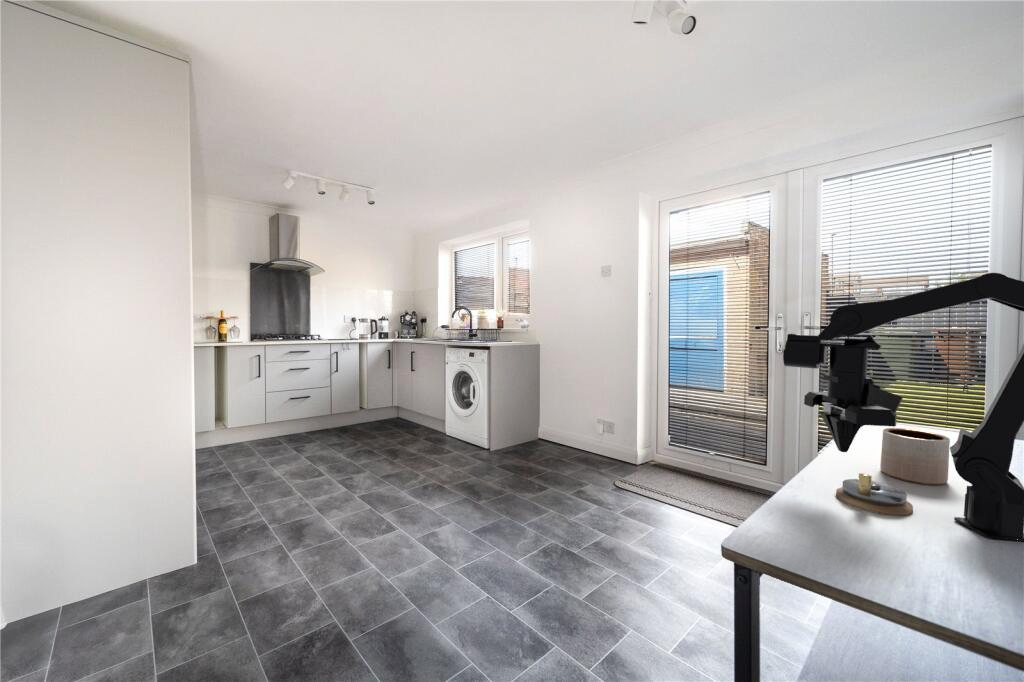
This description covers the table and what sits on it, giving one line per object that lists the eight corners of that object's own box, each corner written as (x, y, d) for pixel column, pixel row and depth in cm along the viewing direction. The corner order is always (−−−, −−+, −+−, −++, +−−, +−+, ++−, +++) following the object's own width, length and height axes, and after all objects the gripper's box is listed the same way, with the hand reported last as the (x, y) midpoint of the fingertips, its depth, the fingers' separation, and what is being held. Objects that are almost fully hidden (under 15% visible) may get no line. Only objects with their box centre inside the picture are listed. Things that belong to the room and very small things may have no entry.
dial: (880, 487, 85) (882, 462, 85) (920, 507, 76) (922, 479, 75) (830, 484, 86) (831, 460, 85) (863, 504, 77) (865, 477, 76)
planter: (918, 469, 100) (921, 428, 99) (962, 487, 89) (966, 441, 88) (868, 467, 101) (870, 426, 100) (905, 485, 90) (908, 439, 89)
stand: (929, 518, 74) (930, 507, 74) (858, 512, 76) (859, 502, 76) (884, 492, 86) (885, 483, 85) (823, 488, 87) (824, 479, 87)
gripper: (935, 379, 72) (929, 471, 73) (862, 367, 90) (858, 440, 91) (860, 376, 74) (855, 466, 74) (804, 365, 92) (801, 437, 93)
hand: (842, 451), depth 83 cm, fingers closed
